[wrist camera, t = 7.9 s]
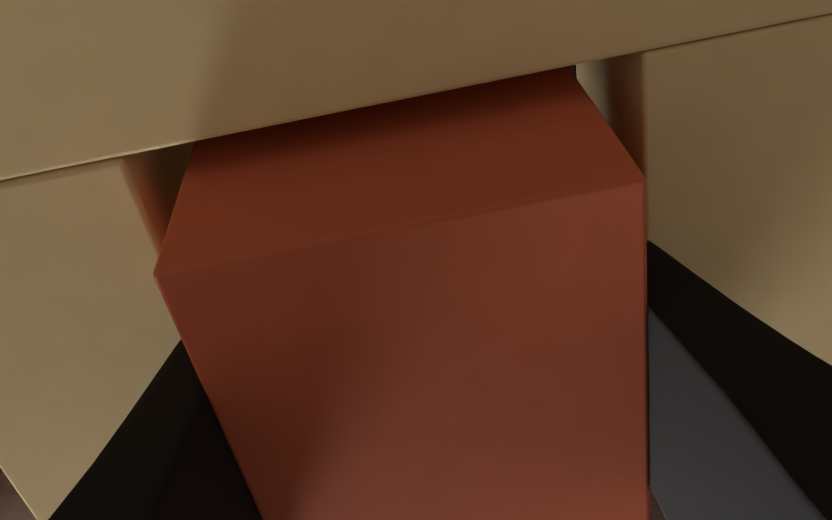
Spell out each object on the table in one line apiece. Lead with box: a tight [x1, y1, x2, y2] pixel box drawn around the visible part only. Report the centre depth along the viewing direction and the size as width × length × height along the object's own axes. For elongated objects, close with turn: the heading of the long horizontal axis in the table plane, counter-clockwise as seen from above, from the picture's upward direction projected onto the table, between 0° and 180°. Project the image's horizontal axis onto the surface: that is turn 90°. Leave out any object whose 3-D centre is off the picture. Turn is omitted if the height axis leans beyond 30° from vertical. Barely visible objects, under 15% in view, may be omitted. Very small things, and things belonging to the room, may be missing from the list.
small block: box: [153, 66, 649, 520], centre depth 10 cm, size 6×4×3 cm
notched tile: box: [0, 0, 832, 520], centre depth 10 cm, size 12×12×3 cm
